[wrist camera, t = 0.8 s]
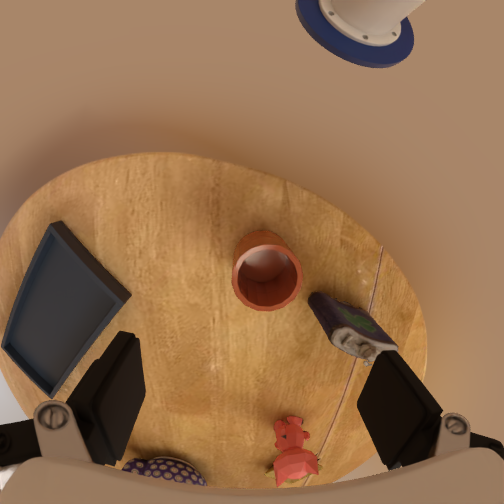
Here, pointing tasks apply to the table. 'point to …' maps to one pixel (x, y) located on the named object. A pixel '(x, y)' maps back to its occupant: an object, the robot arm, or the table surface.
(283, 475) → the cat figurine
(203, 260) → the table surface
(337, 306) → the flask
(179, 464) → the teapot
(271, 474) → the yellow square dish
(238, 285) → the flower pot
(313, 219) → the table surface
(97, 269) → the tray
